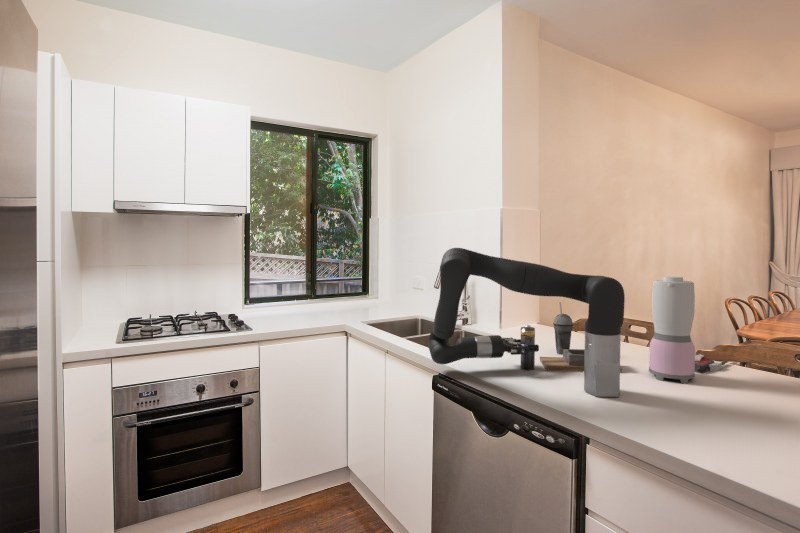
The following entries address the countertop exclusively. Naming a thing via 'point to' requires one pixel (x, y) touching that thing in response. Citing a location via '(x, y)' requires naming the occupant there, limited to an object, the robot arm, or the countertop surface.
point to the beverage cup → (562, 331)
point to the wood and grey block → (566, 361)
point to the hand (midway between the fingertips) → (532, 345)
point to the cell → (528, 339)
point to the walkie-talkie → (706, 364)
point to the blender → (672, 329)
